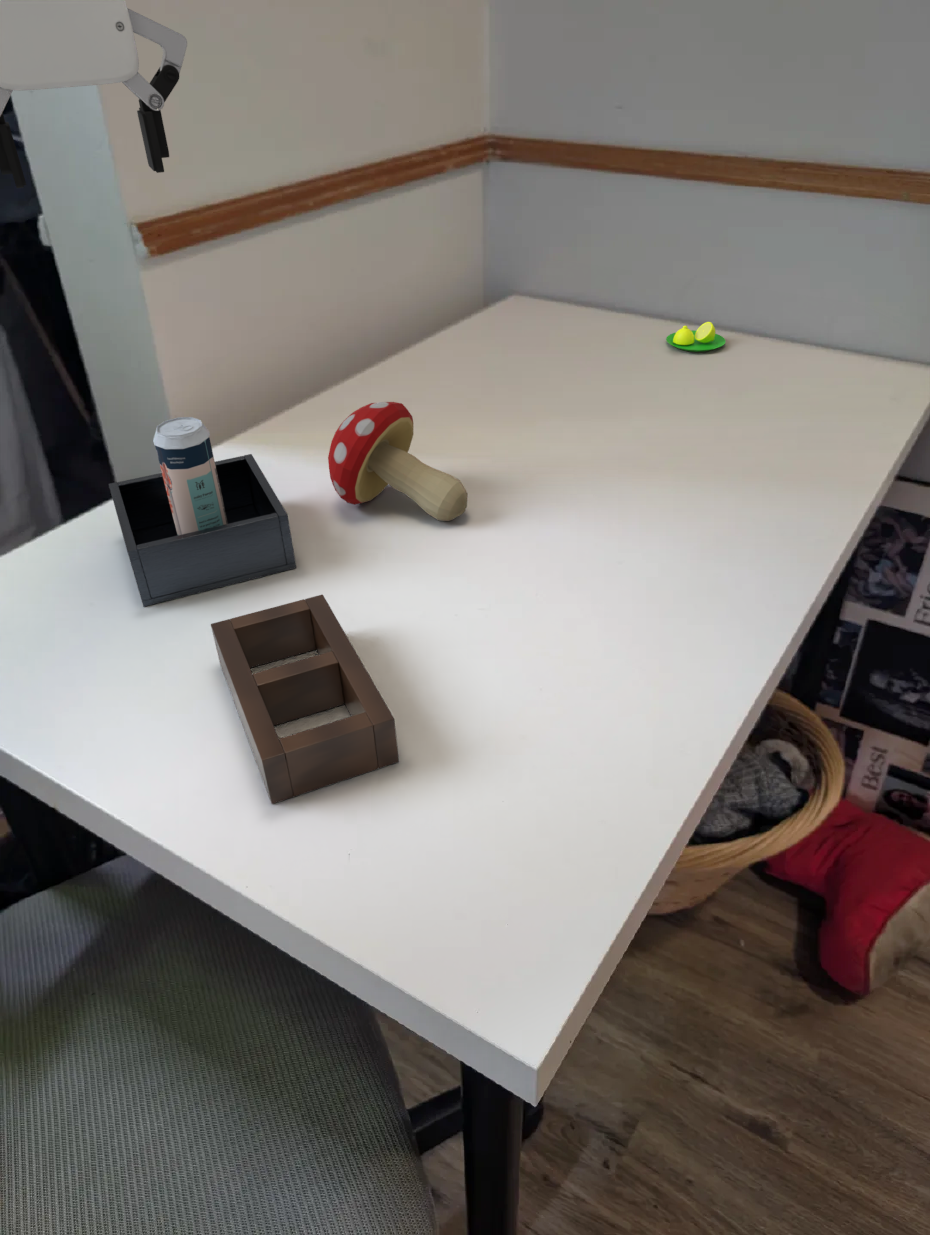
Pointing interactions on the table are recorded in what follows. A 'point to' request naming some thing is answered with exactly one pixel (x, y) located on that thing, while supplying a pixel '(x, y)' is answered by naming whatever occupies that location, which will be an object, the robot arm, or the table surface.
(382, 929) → the table surface
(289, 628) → the rack
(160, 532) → the dark grey open box
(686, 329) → the lemon
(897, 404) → the table surface
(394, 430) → the decorative mushroom
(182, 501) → the beer can
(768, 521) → the table surface
